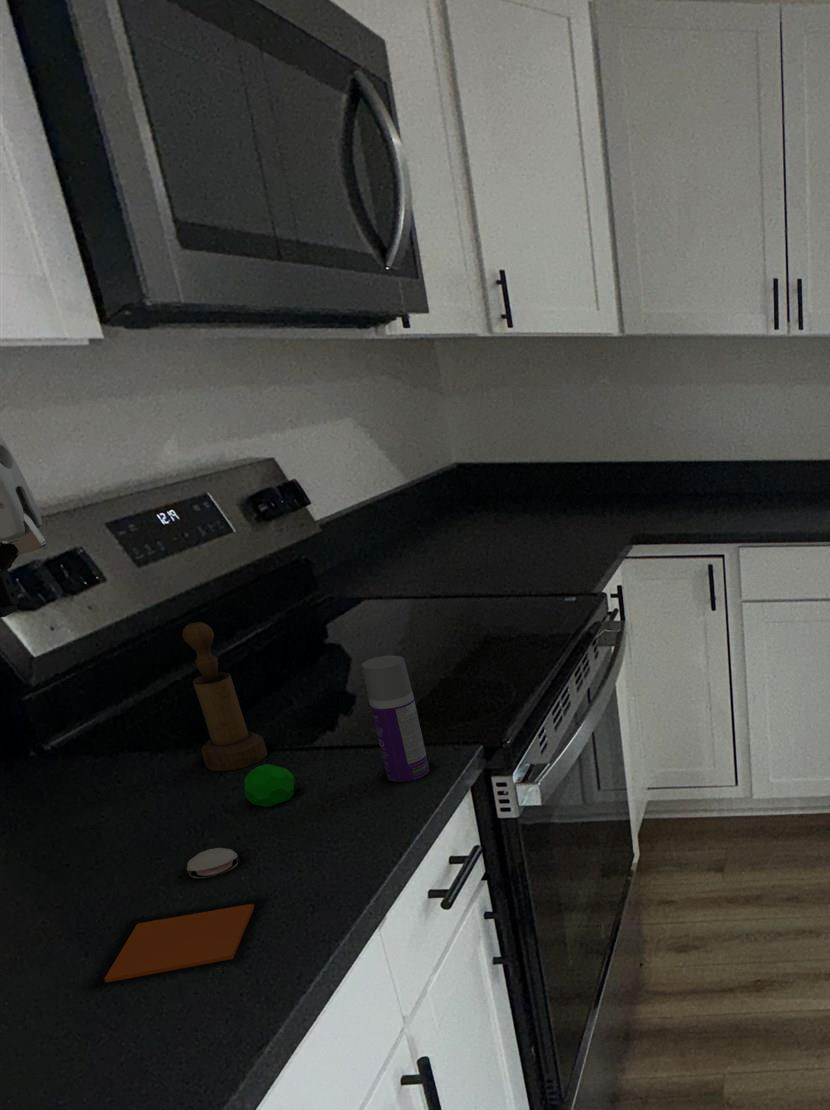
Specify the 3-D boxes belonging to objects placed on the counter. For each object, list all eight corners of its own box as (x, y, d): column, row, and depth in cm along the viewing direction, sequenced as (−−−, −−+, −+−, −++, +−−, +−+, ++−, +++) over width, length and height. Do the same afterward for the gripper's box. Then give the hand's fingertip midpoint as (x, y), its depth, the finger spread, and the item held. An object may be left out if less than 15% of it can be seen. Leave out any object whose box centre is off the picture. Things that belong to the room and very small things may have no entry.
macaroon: (191, 889, 90) (183, 867, 89) (189, 866, 94) (182, 845, 93) (242, 875, 93) (235, 853, 91) (239, 853, 96) (232, 833, 95)
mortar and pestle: (221, 776, 113) (175, 635, 105) (196, 763, 116) (150, 626, 108) (277, 756, 118) (237, 620, 110) (251, 744, 121) (211, 612, 113)
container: (379, 783, 111) (350, 665, 105) (409, 767, 115) (384, 653, 109) (409, 789, 109) (381, 671, 103) (439, 773, 113) (414, 657, 107)
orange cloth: (98, 992, 76) (94, 982, 76) (135, 930, 84) (131, 921, 84) (237, 966, 80) (233, 956, 79) (260, 909, 87) (257, 899, 87)
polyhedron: (300, 808, 105) (289, 770, 103) (250, 819, 103) (237, 781, 101) (299, 790, 109) (288, 754, 107) (250, 800, 107) (239, 763, 105)
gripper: (41, 407, 87) (107, 596, 94) (-163, 412, 82) (-76, 611, 90) (4, 414, 80) (79, 617, 88) (-220, 420, 76) (-120, 634, 83)
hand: (0, 613), depth 89 cm, fingers closed
